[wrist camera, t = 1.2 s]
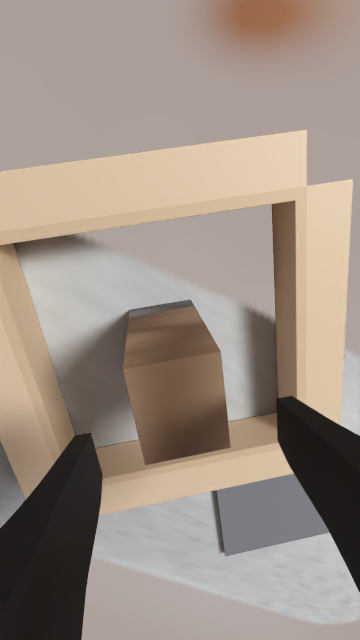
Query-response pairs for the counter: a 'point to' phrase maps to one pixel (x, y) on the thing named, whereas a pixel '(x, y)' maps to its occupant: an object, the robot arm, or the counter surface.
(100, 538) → the counter surface
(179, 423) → the walnut block
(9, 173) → the wooden square frame
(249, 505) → the slate mat
